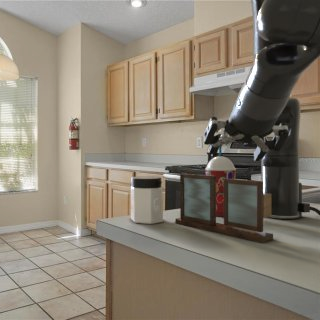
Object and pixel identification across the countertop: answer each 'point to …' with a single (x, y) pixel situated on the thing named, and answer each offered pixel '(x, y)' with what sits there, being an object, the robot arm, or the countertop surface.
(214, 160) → the smoothie
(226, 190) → the sash
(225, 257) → the countertop surface
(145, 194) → the jar
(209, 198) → the window frame
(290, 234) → the countertop surface
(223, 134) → the robot arm
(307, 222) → the countertop surface
